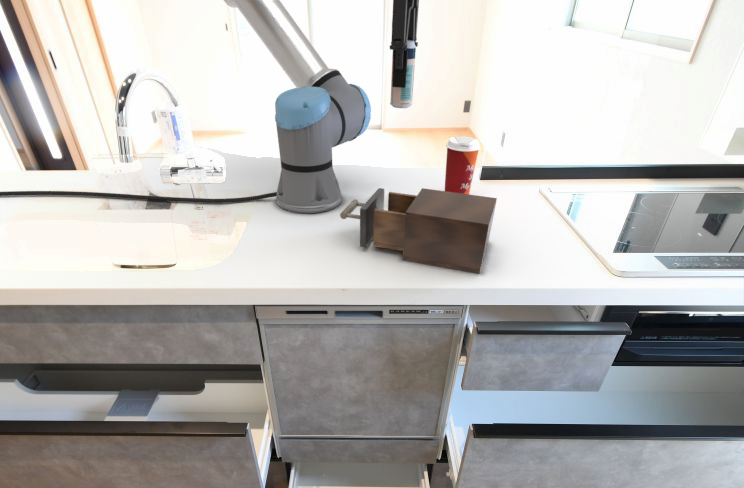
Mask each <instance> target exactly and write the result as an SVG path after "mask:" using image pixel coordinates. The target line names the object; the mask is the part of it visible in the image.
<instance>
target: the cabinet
mask: <svg viewBox="0 0 744 488" xmlns="http://www.w3.org/2000/svg"><path fill="white" fill-rule="evenodd" d="M497 200H498V198H497V197H490V196H483V195H475V194H470V193H469V194H462V193H454V192H447V191H445V190H437V189H431V188H423V187H422V188H421V189H420V191H419V192H418V194H417V197H416V198H415V199H414V201H413V202H412V204H411V205H410V207H409V208H408V210H407V211H406V215H405V230H404V245H403V251H402V261H405V262H412V263H417V264H422V265H428V266H434V267H438V268H439V267H440V268H444V269H445V268H446V269H449V270H457V271H462V272H468V273H474V274H481V270H482V266H483V263H484V259H485V256H486V253H487V249H488V245H489V241H490V235H491V231H492V227H493V220H494V215H495V209H496V204H497Z"/></svg>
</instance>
